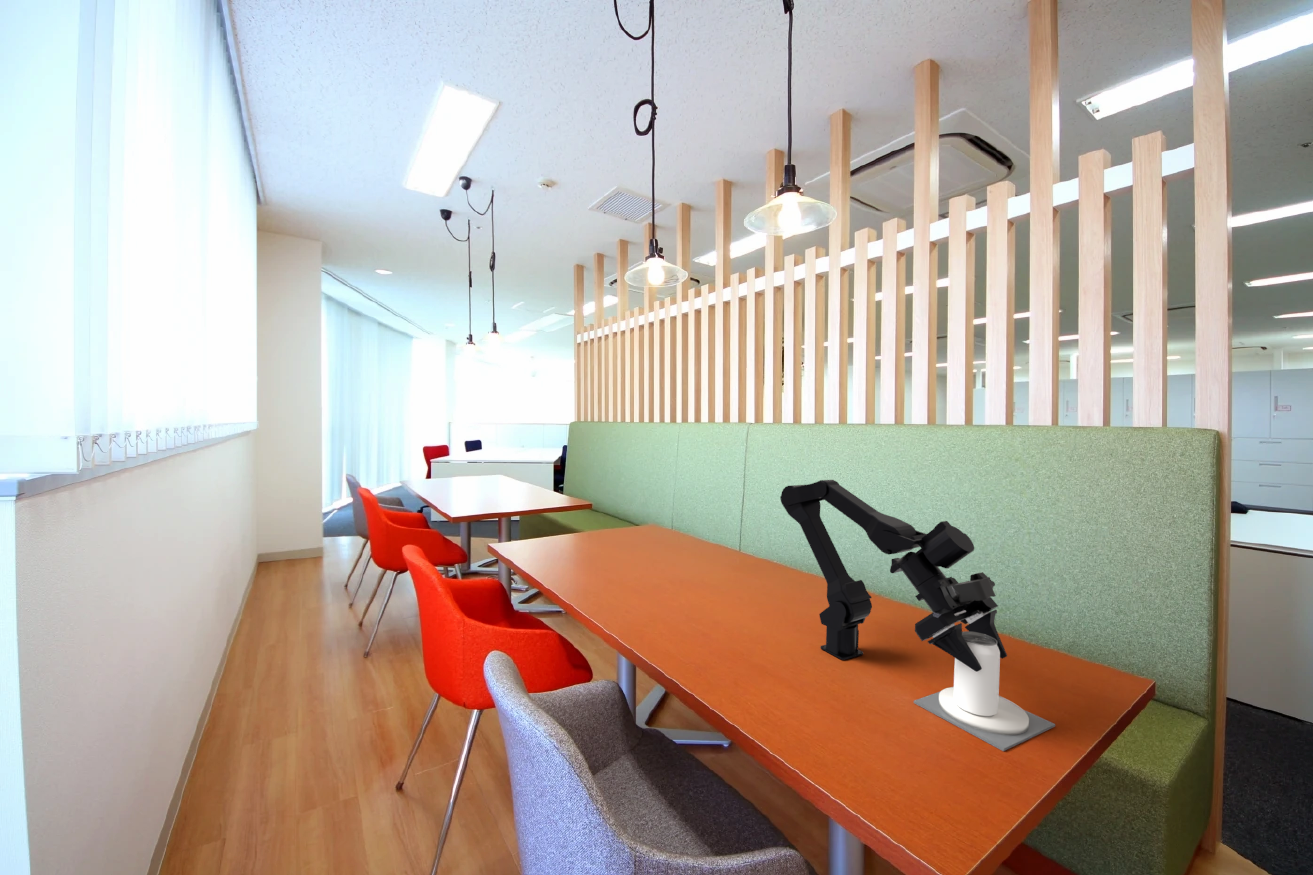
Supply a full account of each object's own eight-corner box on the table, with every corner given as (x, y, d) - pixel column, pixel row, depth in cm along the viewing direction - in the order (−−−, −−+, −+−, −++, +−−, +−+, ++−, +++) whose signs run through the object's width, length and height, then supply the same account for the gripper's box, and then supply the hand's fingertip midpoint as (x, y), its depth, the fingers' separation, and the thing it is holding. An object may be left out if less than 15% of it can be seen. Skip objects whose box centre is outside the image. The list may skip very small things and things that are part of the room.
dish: (1003, 751, 77) (1003, 742, 77) (913, 702, 91) (913, 695, 91) (1055, 726, 84) (1055, 718, 84) (964, 684, 97) (964, 677, 97)
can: (948, 694, 91) (951, 628, 91) (990, 701, 89) (992, 633, 89) (959, 713, 85) (961, 642, 84) (1003, 721, 83) (1006, 648, 83)
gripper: (935, 565, 85) (1006, 656, 76) (987, 552, 95) (1056, 631, 86) (889, 598, 92) (950, 685, 83) (943, 582, 102) (1002, 658, 93)
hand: (992, 663), depth 86 cm, fingers open, 9 cm apart
